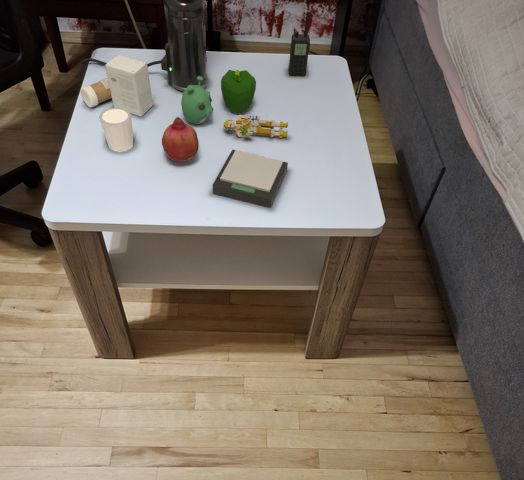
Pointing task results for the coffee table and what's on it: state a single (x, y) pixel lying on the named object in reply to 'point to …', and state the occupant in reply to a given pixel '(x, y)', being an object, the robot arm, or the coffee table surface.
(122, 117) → the white candle
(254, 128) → the toy
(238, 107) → the bell pepper
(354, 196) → the coffee table surface
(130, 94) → the small box
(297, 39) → the walkie-talkie
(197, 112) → the alien toy
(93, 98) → the sprinkles bottle
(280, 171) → the scale
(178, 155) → the fruit
